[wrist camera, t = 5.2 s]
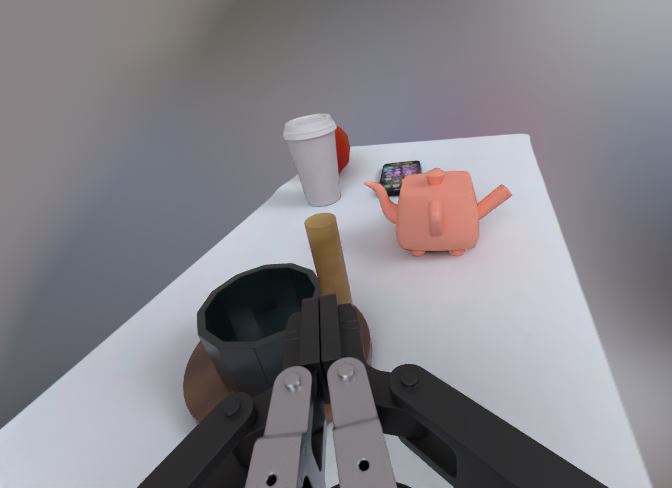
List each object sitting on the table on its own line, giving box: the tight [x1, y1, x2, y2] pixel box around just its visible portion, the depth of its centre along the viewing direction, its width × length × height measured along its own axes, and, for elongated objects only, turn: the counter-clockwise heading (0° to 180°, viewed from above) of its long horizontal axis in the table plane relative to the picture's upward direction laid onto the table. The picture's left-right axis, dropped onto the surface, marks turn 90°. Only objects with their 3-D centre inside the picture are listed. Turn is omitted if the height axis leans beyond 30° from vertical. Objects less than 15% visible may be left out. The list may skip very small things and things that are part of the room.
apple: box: [335, 126, 350, 173], centre depth 77 cm, size 10×10×12 cm
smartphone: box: [380, 161, 421, 196], centre depth 69 cm, size 8×1×15 cm
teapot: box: [364, 168, 512, 256], centre depth 46 cm, size 14×12×10 cm
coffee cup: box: [283, 114, 340, 206], centre depth 64 cm, size 10×10×15 cm
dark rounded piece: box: [183, 213, 372, 425], centre depth 31 cm, size 18×18×15 cm
